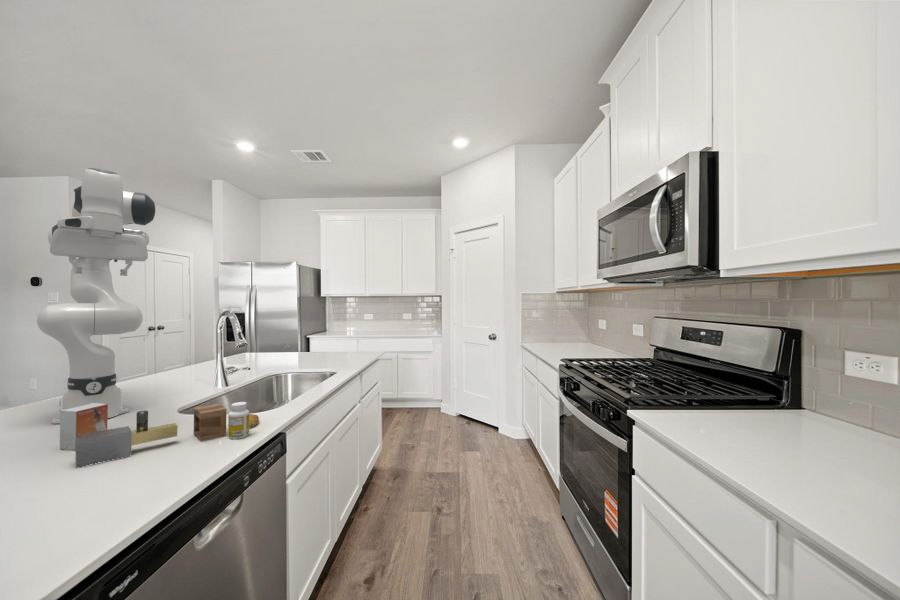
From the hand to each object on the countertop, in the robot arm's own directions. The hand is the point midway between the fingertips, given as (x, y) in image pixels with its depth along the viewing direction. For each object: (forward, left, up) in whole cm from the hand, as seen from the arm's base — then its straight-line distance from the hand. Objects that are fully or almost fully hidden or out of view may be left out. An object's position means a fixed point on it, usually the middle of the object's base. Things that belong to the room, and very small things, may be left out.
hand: (101, 274), depth 105 cm
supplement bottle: (+23, +29, -48) cm, 60 cm away
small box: (0, -3, -48) cm, 48 cm away
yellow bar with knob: (+16, +5, -45) cm, 48 cm away
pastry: (+14, +34, -48) cm, 60 cm away
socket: (+16, +23, -47) cm, 55 cm away
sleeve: (+16, 0, -47) cm, 50 cm away
